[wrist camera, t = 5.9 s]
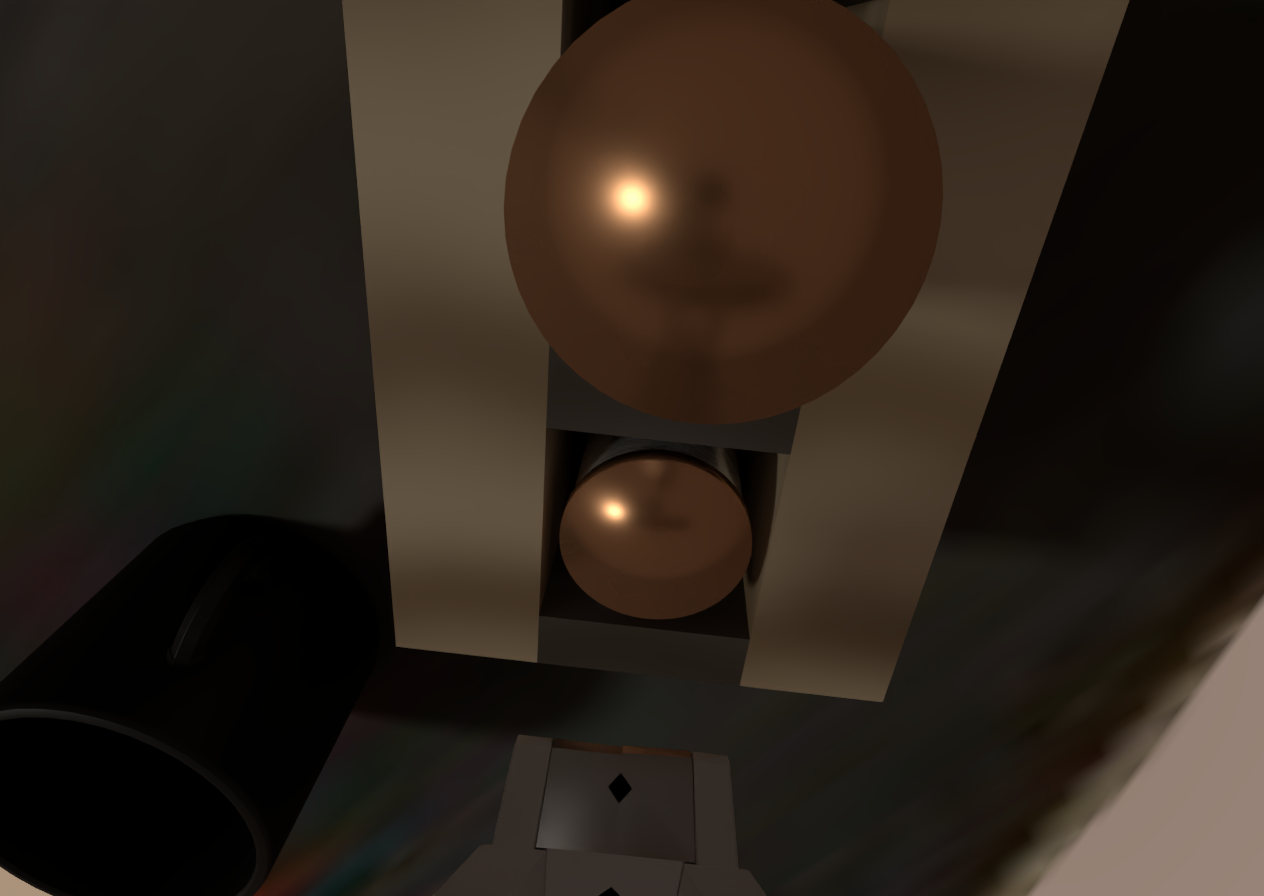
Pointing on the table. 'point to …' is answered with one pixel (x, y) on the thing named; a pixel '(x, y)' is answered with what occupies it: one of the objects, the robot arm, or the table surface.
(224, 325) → the table surface
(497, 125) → the oak block
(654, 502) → the cylinder
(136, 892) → the mug
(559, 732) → the table surface
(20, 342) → the table surface
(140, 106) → the table surface
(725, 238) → the copper domed cylinder
